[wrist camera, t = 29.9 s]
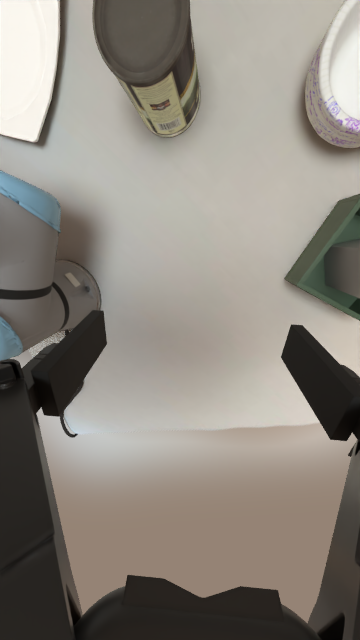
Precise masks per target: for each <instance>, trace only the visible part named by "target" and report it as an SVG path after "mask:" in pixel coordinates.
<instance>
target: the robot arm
mask: <svg viewBox="0 0 360 640" xmlns="http://www.w3.org/2000/svg"><path fill="white" fill-rule="evenodd" d="M60 215H61V208H60V204H59V202H58V201H57V199H56V198H55V197H54V196H53V195H51V194H50V193H48V192H46V191H44V190H42V189H40V188H38V187H36V186H33V185H31V184H29V183H27V182H25V181H23V180H21V179H18V178H16V177H14V176H12V175H10V174H8V173H5V172H3V171H1V170H0V640H360V377H359V376H358V375H357V374H356V373H355V372H354V371H352V370H351V369H349V368H347V367H346V366H344V365H340V364H339V363H338V362H337V361H336V360H335V359H334V358H333V357H332V356H331V355H330V354H329V353H328V352H327V350H326V349H325V348H324V347H323V346H322V345H321V344H320V343H319V342H318V341H317V340H316V339H315V338H314V337H313V336H312V335H311V334H310V333H309V332H308V331H307V330H306V329H305V328H304V327H303V326H302V325H291V327H290V330H289V333H288V336H287V340H286V343H285V346H284V349H283V352H282V356H281V358H282V360H283V362H284V363H285V365H286V367H287V368H288V370H289V372H290V373H291V375H292V377H293V378H294V380H295V382H296V383H297V385H298V387H299V388H300V390H301V391H302V393H303V395H304V396H305V398H306V400H307V401H308V403H309V405H310V406H311V408H312V410H313V411H314V413H315V415H316V416H317V418H318V420H319V421H320V423H321V425H322V426H323V428H324V430H325V431H326V433H327V434H328V436H329V438H330V439H331V440H341V441H347V440H348V438H349V437H350V435H351V433H352V432H353V434H354V435H355V436H356V438H357V439H358V440H357V442H356V443H355V445H354V446H353V448H352V449H351V451H350V453H349V454H348V456H350V457H351V456H352V457H351V462H350V465H349V470H348V474H347V478H346V482H345V486H344V491H343V495H342V499H341V503H340V508H339V512H338V516H337V520H336V525H335V529H334V533H333V537H332V541H331V546H330V550H329V555H328V559H327V563H326V567H325V571H324V575H323V579H322V584H321V588H320V592H319V596H318V599H317V602H316V604H315V607H314V608H313V611H312V613H311V615H310V618H309V621H308V624H307V623H306V622H305V621H304V620H303V619H301V618H300V617H299V616H298V615H297V614H296V613H294V612H293V611H292V610H290V609H289V608H287V607H286V606H284V605H282V604H281V602H280V598H279V593H278V590H271V589H261V588H251V587H241V586H240V587H237V588H234V589H231V590H228V591H225V592H222V593H219V594H216V595H213V596H209V597H206V598H201V597H198V596H196V595H194V594H192V593H191V592H189V591H187V590H185V589H183V588H181V587H179V586H177V585H175V584H173V583H171V582H169V581H167V580H166V579H162V578H153V577H142V576H133V575H128V576H127V581H126V586H125V587H122V588H118V589H116V590H114V591H112V592H110V593H109V594H107V595H105V596H104V597H102V598H101V599H100V600H98V601H97V602H96V603H95V604H94V605H93V606H91V607H90V608H89V609H88V610H87V611H86V613H85V614H84V615H82V611H81V607H80V602H79V598H78V594H77V590H76V586H75V583H74V579H73V575H72V571H71V567H70V563H69V558H68V554H67V549H66V544H65V540H64V535H63V531H62V526H61V522H60V517H59V513H58V508H57V504H56V499H55V495H54V490H53V485H52V481H51V477H50V472H49V467H48V463H47V458H46V454H45V449H44V445H43V440H42V436H41V431H40V427H39V422H38V418H37V415H36V413H37V412H38V410H39V409H40V408H41V407H42V410H43V413H44V415H47V416H60V420H61V424H62V427H63V430H64V431H65V433H66V434H67V435H68V436H70V437H76V436H77V435H78V434H74V435H72V434H70V433H69V432H68V430H67V429H66V427H65V424H64V420H63V411H64V409H65V408H66V407H67V406H68V405H69V404H70V403H71V401H72V400H73V398H74V397H75V396H76V395H77V394H78V393H79V391H80V390H81V388H82V385H83V380H84V378H85V377H86V375H87V374H88V372H89V371H90V369H91V367H92V366H93V364H94V363H95V361H96V360H97V358H98V357H99V355H100V354H101V352H102V351H103V349H104V348H105V346H106V345H107V341H106V331H105V322H104V313H103V311H99V309H100V305H101V296H100V291H99V288H98V285H97V283H96V281H95V280H94V278H93V277H92V275H91V274H90V273H89V272H88V271H87V270H86V269H85V268H83V267H82V266H80V265H79V264H77V263H74V262H71V261H67V260H58V261H55V260H56V252H57V244H58V236H59V233H61V230H60ZM68 329H73V330H72V331H71V332H70V333H69V330H68ZM62 330H65V335H66V336H65V337H64V338H63V339H62V340H61V341H60V342H59V343H58V344H56V343H53V344H51V345H49V346H47V347H45V348H44V349H43V350H41V351H40V352H39V353H38V355H36V356H35V357H34V358H33V359H32V360H30V361H29V362H28V363H27V364H26V365H25V366H24V367H23V368H22V369H21V366H20V363H19V362H18V361H16V360H14V359H10V358H11V357H15V356H18V355H20V354H21V353H22V352H24V351H25V350H28V349H29V348H31V347H33V346H34V345H36V344H38V343H39V342H41V341H43V340H44V339H46V338H48V337H49V336H51V335H53V334H55V333H56V332H58V331H62ZM78 387H79V388H78ZM76 390H77V391H76Z"/></svg>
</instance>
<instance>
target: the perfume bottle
mask: <svg viewBox="0 0 360 640" xmlns="http://www.w3.org/2000/svg"><path fill="white" fill-rule="evenodd" d="M324 271H325V285H328V286H330V287H333V288H335V289H337V290H340V291H342V292H345V293H347V294H350V295H352V296H355V297H357V298H360V238H359V239H354V240H350V241H345V242H341V243H336V244H332V246H331V247H330V248H329V250H328V251H327V252H326V254H325V255H324Z"/></svg>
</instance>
